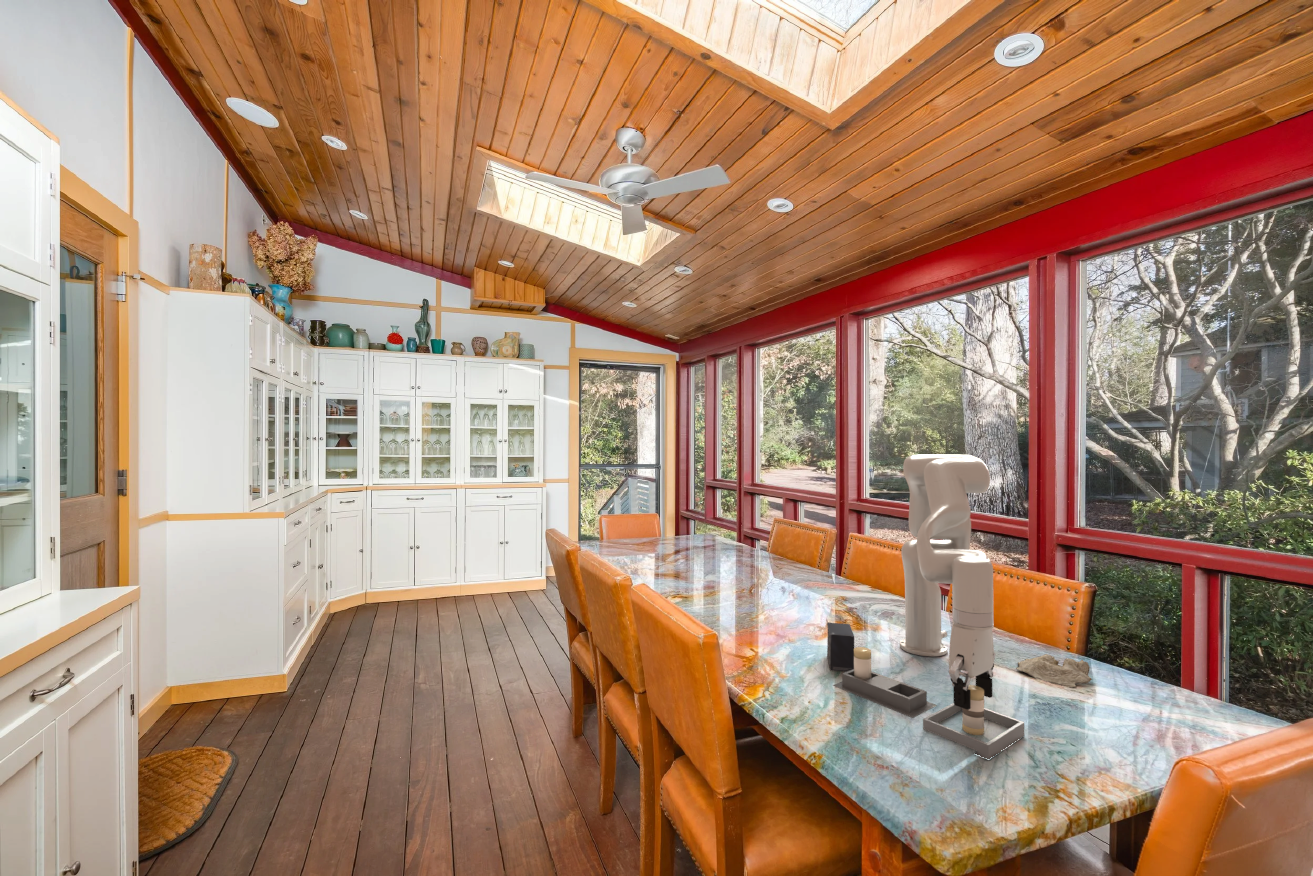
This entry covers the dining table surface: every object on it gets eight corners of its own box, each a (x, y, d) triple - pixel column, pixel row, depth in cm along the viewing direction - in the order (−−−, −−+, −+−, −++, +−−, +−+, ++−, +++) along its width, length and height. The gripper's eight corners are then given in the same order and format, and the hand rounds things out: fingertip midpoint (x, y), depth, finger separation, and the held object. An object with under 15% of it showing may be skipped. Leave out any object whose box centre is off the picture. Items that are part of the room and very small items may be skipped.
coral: (1008, 658, 166) (1008, 640, 166) (1076, 666, 160) (1076, 647, 160) (1020, 683, 150) (1020, 663, 150) (1097, 693, 144) (1097, 672, 144)
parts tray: (960, 712, 133) (960, 699, 133) (1024, 736, 123) (1024, 722, 123) (923, 733, 125) (923, 718, 125) (988, 761, 114) (988, 745, 114)
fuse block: (857, 679, 152) (857, 663, 152) (937, 709, 135) (937, 692, 135) (832, 689, 146) (832, 673, 146) (912, 722, 129) (912, 704, 129)
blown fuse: (968, 725, 127) (968, 683, 126) (988, 733, 123) (987, 689, 123) (958, 731, 124) (958, 688, 124) (978, 739, 121) (978, 694, 121)
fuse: (860, 682, 148) (860, 646, 148) (874, 687, 145) (874, 650, 145) (850, 686, 146) (850, 649, 146) (864, 691, 142) (864, 654, 142)
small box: (855, 676, 154) (855, 635, 154) (829, 674, 155) (829, 634, 155) (850, 661, 165) (850, 623, 164) (826, 659, 166) (826, 621, 166)
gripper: (975, 605, 132) (975, 684, 132) (932, 621, 121) (933, 706, 122) (1011, 614, 126) (1011, 696, 126) (969, 630, 115) (970, 720, 116)
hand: (973, 700), depth 124 cm, fingers open, 8 cm apart
